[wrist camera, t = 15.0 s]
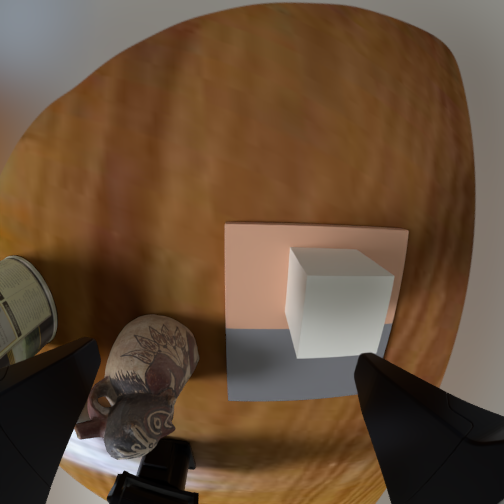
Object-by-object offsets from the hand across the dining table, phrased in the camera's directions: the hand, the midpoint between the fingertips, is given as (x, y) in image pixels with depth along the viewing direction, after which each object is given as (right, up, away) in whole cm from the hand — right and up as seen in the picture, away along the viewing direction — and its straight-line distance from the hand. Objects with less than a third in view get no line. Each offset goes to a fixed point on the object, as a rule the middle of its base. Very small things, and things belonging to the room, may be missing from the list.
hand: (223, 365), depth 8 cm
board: (+6, -2, +14) cm, 15 cm away
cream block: (+6, +1, +12) cm, 13 cm away
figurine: (-7, -5, +14) cm, 17 cm away
